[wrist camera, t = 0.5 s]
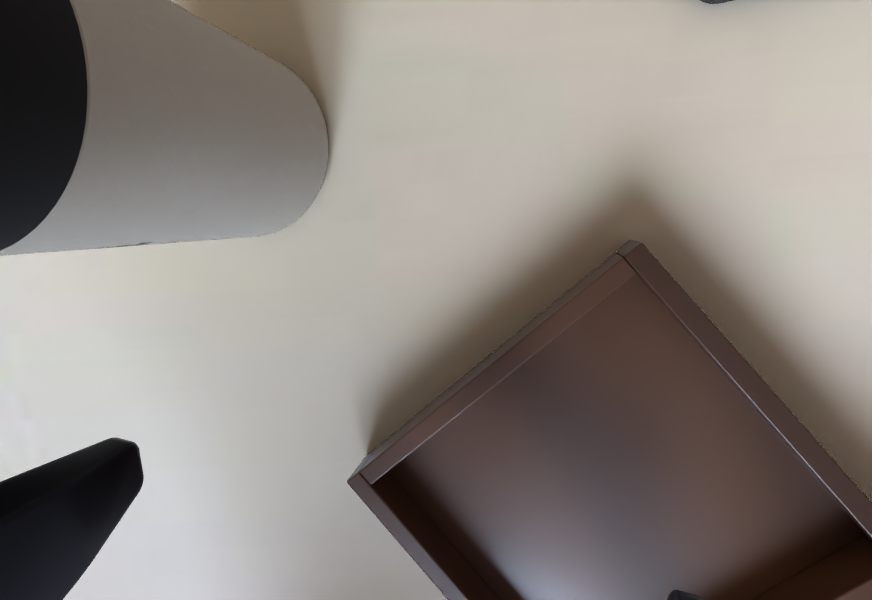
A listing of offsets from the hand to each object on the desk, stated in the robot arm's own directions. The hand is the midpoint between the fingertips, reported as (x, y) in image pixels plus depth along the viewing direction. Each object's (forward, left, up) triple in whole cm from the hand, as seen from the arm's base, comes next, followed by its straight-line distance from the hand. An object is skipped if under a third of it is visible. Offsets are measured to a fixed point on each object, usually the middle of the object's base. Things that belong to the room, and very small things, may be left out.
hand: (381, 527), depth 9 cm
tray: (-1, -9, -16) cm, 18 cm away
